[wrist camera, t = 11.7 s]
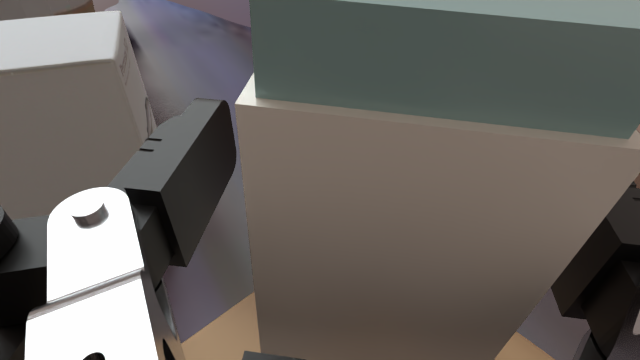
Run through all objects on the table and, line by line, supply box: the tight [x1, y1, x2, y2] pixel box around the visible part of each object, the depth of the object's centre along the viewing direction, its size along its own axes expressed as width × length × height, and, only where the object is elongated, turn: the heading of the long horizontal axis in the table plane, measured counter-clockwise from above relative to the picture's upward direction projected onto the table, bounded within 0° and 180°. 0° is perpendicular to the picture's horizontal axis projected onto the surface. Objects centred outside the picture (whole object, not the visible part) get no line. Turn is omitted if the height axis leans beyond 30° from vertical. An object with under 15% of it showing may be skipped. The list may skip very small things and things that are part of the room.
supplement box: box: [0, 11, 157, 220], centre depth 22 cm, size 7×7×13 cm
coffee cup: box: [0, 0, 95, 21], centre depth 32 cm, size 11×11×15 cm
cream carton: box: [235, 0, 640, 360], centre depth 9 cm, size 5×5×12 cm
